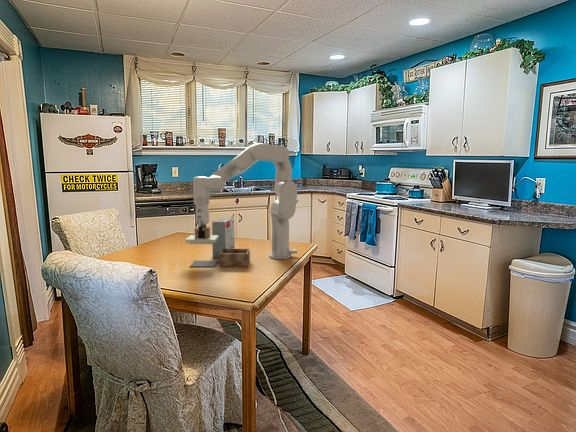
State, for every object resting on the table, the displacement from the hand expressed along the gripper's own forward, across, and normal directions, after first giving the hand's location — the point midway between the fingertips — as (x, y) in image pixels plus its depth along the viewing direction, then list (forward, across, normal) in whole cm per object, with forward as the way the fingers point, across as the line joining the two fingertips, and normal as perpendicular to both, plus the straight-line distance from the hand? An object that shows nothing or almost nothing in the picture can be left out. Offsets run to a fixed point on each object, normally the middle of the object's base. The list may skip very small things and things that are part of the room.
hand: (202, 237), depth 186 cm
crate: (+14, 0, -16) cm, 22 cm away
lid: (+2, 0, 0) cm, 2 cm away
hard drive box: (+15, +20, -7) cm, 26 cm away
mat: (+14, 0, 0) cm, 14 cm away
